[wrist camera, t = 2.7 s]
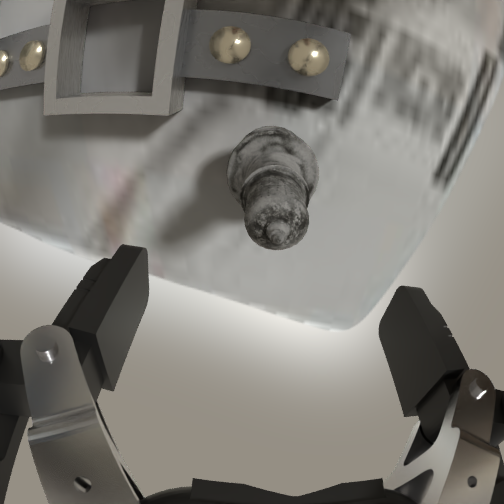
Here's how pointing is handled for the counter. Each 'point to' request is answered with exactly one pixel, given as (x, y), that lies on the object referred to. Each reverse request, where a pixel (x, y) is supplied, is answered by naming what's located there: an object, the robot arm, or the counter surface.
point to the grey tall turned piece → (273, 185)
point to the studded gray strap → (177, 57)
